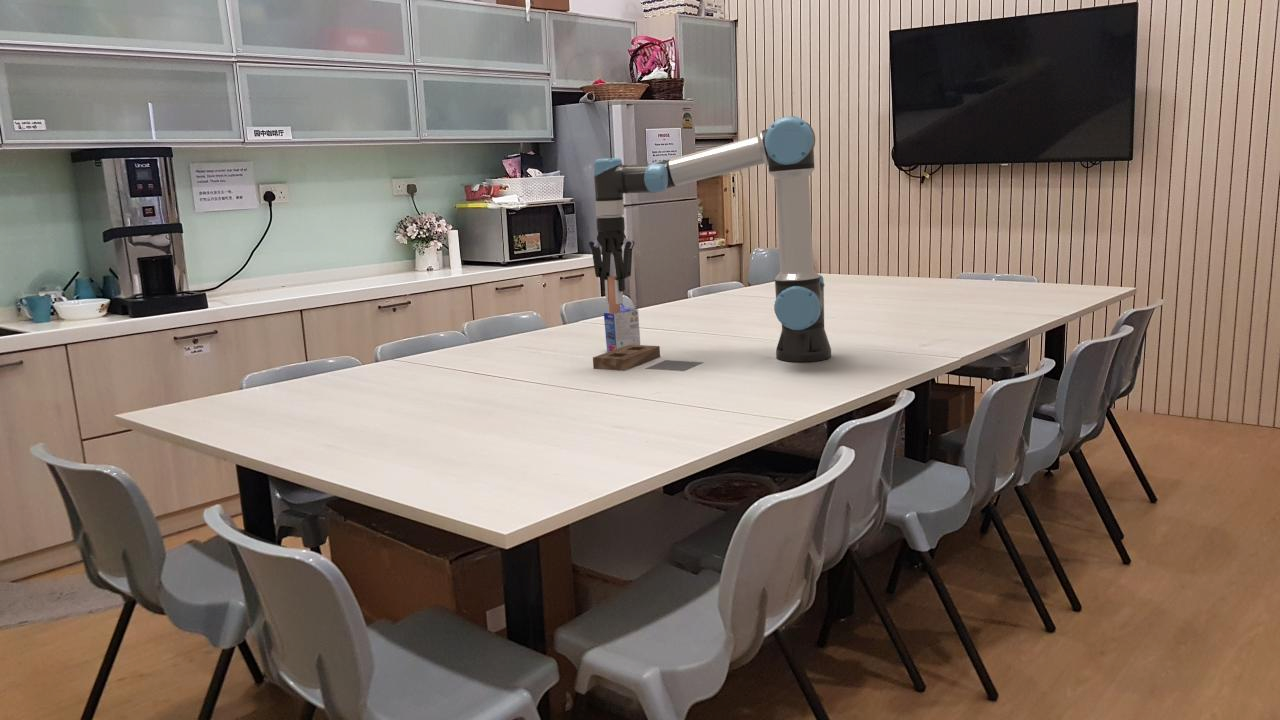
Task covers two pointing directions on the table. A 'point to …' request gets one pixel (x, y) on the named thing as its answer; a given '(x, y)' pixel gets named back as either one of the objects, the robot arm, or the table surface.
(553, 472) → the table surface
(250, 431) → the table surface
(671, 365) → the mat
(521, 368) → the table surface
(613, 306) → the peg
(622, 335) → the ink cartridge box
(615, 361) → the socket block
